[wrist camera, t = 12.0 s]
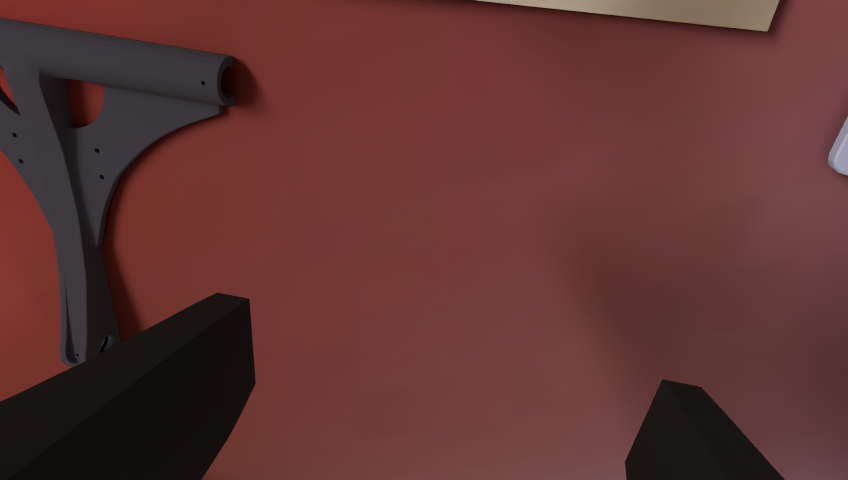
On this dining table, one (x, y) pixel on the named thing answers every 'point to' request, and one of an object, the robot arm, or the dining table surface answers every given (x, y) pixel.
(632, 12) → the board
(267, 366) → the dining table surface
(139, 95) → the bracket
